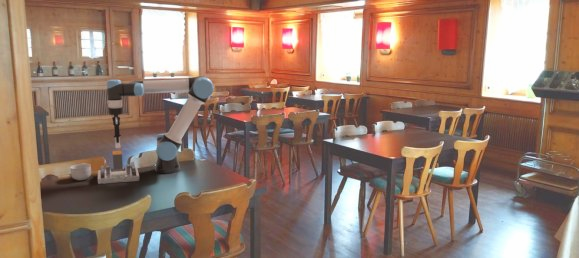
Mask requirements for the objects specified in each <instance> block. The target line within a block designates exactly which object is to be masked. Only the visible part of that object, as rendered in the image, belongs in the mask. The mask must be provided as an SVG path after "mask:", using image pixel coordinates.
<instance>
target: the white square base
mask: <svg viewBox="0 0 579 258" xmlns="http://www.w3.org/2000/svg"><path fill="white" fill-rule="evenodd" d="M130 168H131V170H132V175H136V169H135V168H136V166H135V161H131V163H130ZM100 170H101V178H105V174H104V170H105V166H104V165H101V166H100Z"/></svg>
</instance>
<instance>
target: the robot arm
mask: <svg viewBox="0 0 579 258" xmlns="http://www.w3.org/2000/svg"><path fill="white" fill-rule="evenodd" d="M121 81H122V80H121V79H108V80H107V81H106V92H107V93H106V94H107V95H106V96H107V101H106V104H107V105H108V115H110V116H112V124H113V126H114V128H113V129H114V136H113V138H114V143H115V144H114V146H115V149H121V147H122V146H121V136H122V135H121V134H120V125H121V123H120V121H121V117H120V116H119V115H123V113H124V110H123V98H125V97H136V98H137V97H142V96H144V94H160V93H161V94H163V93H164V94H165V93H166V94H167V93H187V96H188V98H187V99H186V101H185V103H184V104H183V105H182V107H181V110H180V111H179V113H178V115H177V116H176V118H175V120H174V122H173V123H172V125H171V126H170V128H169V130H168V132H164V133H159V134H157V135H156V149H155V151H156V154H157V157H156V161H155V165H154V172H156V173H159V174H172V173H173V174H174V173H176V172H179V171H180V170H181V166H180V163H179V160H178V151H179V149H180V147H181V146H182V144H183V141H182V138H183V137H184V135H185V134H186V132H187V130H188V129H189V127H190V125H191V123H192V122H193V120H194V118H195V117H196V115H197V113H198V111H199V110H200V108H201V106H202V105H204V104H206V103H207V101H208V100H209V97H211V96H212V94H214V89H215V86H214V84H213V82H212V80H211V79H209V78H208V77H207V76H205V75H200V76H192V77H186V79H163V80H161V79H159V80H157V79H156V80H131V81H129V82H125V83H123V82H121Z"/></svg>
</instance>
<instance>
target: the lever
mask: <svg viewBox="0 0 579 258" xmlns="http://www.w3.org/2000/svg"><path fill="white" fill-rule="evenodd" d="M112 164H113V168H110V170H111V172H115V171H126V167H124V166H123V151H122V150H112Z"/></svg>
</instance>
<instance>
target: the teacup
mask: <svg viewBox="0 0 579 258" xmlns="http://www.w3.org/2000/svg"><path fill="white" fill-rule="evenodd" d="M69 169H70V175H71V178H72V179H73V180H75V181H85V180H88V179H89V177H91V176H92V175H91V174H92V167H91V164H90V163H86V162H82V163H78V164H73V165H71V166H70V167H69Z"/></svg>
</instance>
